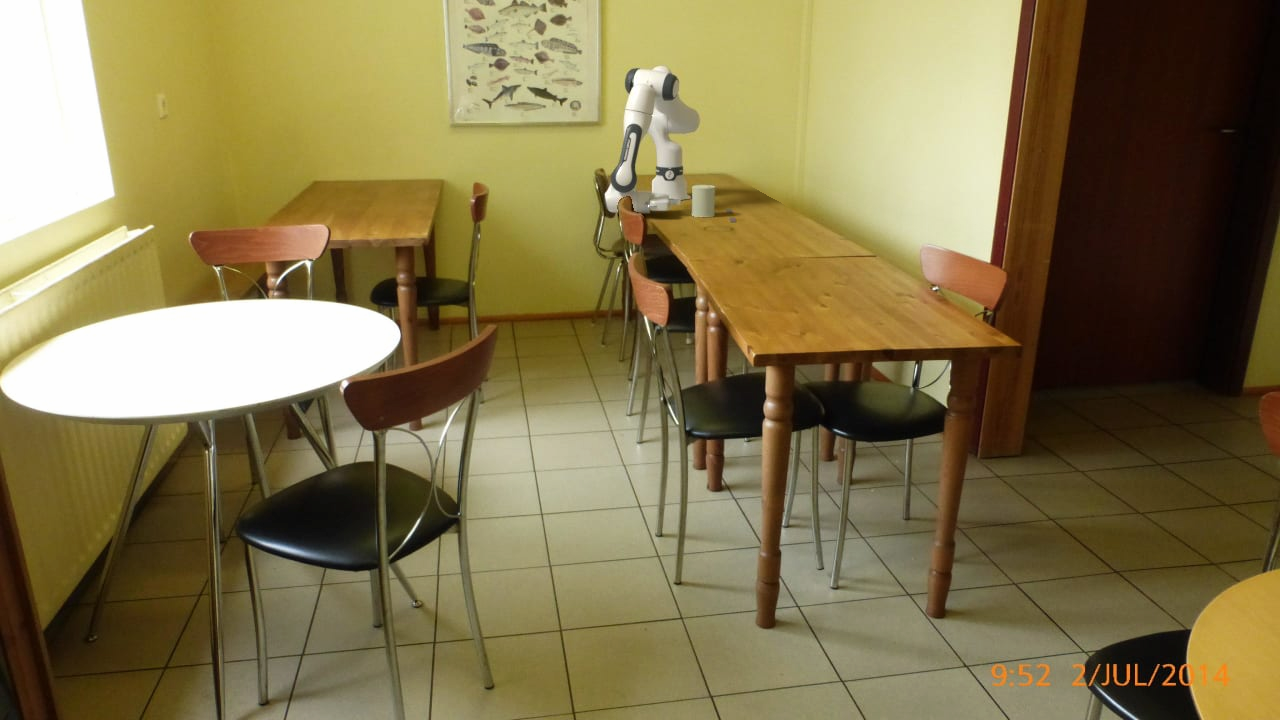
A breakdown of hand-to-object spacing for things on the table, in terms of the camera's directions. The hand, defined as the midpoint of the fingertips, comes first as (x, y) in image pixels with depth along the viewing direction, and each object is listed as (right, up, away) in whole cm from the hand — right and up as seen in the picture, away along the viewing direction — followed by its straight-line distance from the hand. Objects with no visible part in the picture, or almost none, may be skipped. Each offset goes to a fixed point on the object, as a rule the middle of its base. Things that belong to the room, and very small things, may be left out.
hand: (680, 202), depth 368 cm
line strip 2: (+20, -8, -9) cm, 23 cm away
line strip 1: (+20, -2, +11) cm, 23 cm away
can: (+9, -5, +2) cm, 11 cm away
